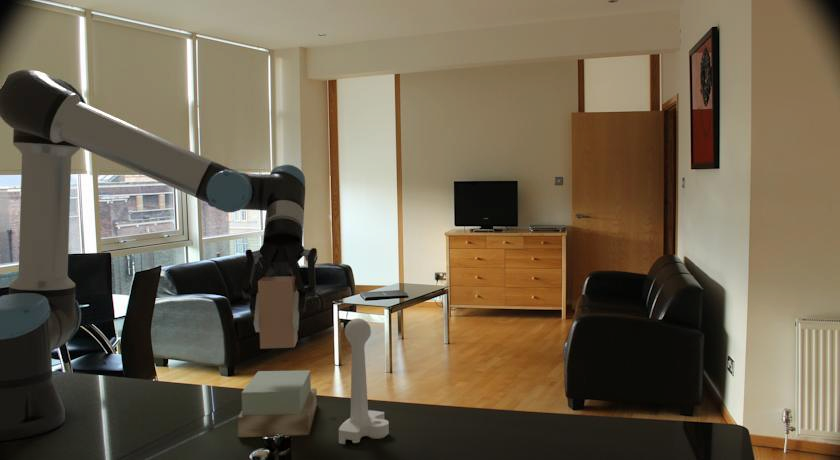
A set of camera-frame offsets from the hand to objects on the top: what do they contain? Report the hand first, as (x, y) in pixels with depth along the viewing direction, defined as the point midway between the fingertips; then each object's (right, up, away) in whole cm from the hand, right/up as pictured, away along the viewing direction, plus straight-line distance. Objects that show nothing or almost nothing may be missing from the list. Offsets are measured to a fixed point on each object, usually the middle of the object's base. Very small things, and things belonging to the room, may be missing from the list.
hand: (276, 327), depth 124 cm
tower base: (0, -18, +5) cm, 19 cm away
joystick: (+16, -18, -3) cm, 25 cm away
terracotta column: (0, -4, +4) cm, 5 cm away
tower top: (0, -14, +4) cm, 15 cm away
